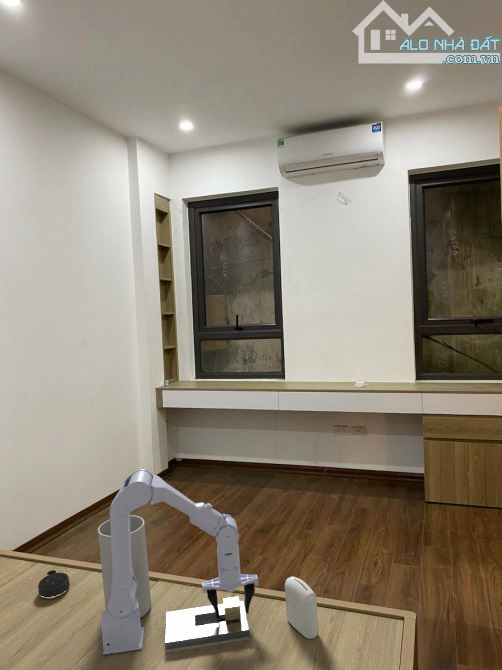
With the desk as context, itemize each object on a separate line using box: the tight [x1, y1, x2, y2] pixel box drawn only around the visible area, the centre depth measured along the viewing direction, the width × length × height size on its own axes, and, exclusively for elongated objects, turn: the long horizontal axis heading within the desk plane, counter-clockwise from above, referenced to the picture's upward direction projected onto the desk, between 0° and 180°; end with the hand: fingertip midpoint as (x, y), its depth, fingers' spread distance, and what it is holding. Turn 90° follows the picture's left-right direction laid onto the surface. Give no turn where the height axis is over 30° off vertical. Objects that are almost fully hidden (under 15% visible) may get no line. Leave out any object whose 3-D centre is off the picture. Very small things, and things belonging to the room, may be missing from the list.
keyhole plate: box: [164, 600, 251, 654], centre depth 128 cm, size 21×12×3 cm, turn 98°
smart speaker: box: [37, 572, 71, 597], centre depth 150 cm, size 9×9×4 cm
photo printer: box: [284, 576, 319, 640], centre depth 127 cm, size 10×4×12 cm, turn 29°
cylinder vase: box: [97, 514, 152, 619], centre depth 138 cm, size 12×12×25 cm
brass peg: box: [222, 596, 241, 621], centre depth 129 cm, size 4×4×6 cm
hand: (232, 613), depth 129 cm, fingers open, 7 cm apart
